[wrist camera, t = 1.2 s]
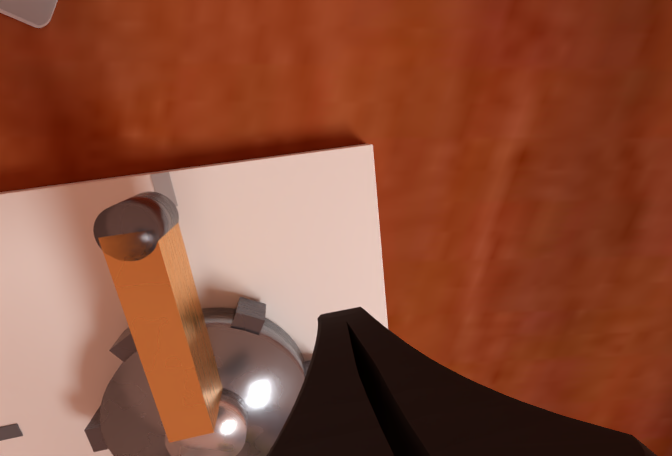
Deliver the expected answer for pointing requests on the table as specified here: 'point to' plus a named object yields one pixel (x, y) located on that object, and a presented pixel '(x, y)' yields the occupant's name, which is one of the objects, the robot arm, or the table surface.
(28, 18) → the usb wall charger
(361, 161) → the base plate
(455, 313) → the table surface
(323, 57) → the table surface
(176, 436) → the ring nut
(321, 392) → the robot arm
